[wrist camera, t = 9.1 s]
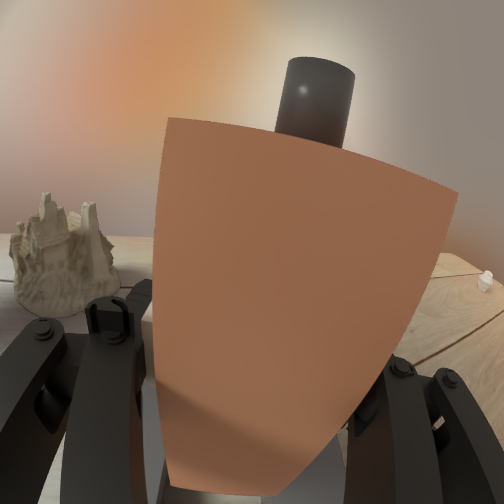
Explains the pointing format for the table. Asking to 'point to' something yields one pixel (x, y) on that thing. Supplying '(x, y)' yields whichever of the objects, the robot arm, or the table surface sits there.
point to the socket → (288, 500)
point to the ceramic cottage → (61, 261)
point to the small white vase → (485, 281)
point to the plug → (279, 283)
